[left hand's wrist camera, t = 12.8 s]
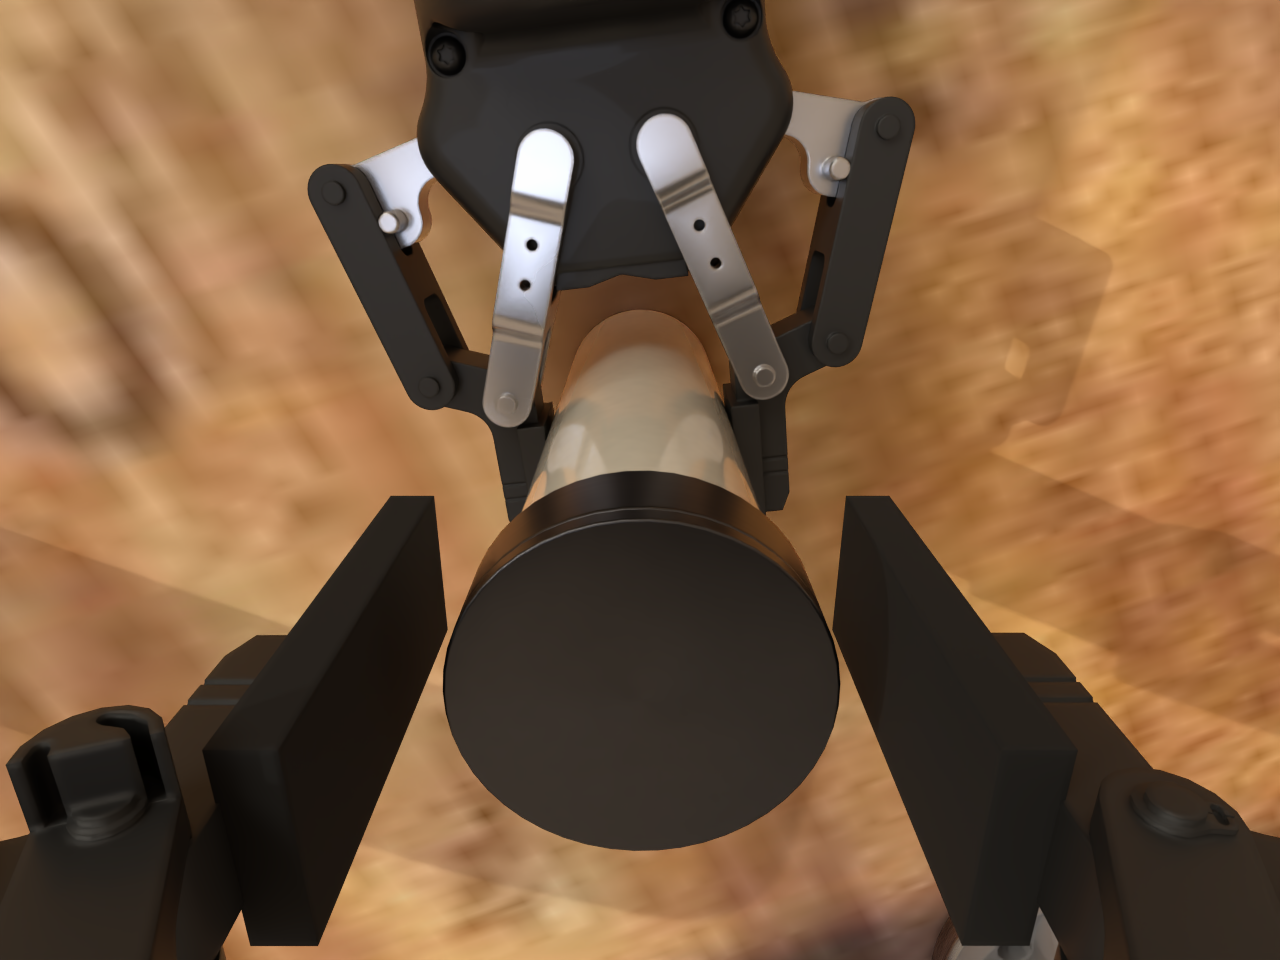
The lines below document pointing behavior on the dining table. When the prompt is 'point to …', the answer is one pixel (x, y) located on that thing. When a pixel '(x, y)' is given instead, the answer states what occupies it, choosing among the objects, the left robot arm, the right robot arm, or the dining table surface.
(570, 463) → the cream cylindrical bottle
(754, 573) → the lid
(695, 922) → the dining table surface
